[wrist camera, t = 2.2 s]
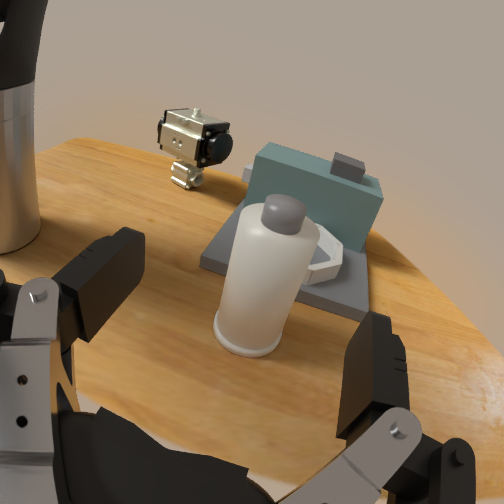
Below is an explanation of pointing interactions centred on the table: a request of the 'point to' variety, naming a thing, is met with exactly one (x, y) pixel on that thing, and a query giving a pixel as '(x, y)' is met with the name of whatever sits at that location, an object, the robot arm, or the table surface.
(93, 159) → the table surface
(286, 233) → the bottle
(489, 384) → the table surface
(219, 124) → the pneumatic valve
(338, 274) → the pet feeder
